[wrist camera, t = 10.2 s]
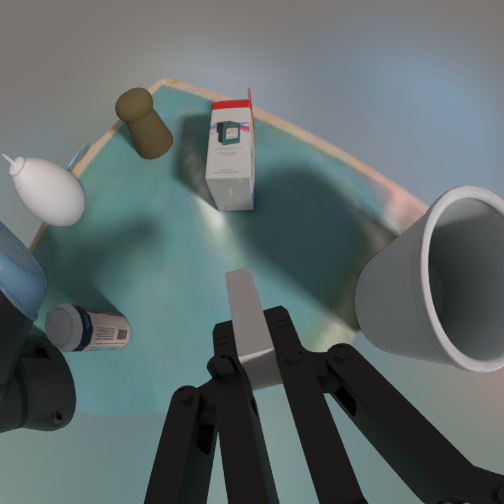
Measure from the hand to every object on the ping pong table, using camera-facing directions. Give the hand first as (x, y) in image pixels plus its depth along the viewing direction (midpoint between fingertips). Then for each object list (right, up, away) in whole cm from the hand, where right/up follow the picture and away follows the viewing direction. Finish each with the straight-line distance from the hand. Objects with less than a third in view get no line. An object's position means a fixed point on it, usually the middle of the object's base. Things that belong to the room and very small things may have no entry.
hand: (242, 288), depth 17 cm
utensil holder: (+19, -4, +15) cm, 25 cm away
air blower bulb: (-27, +8, +21) cm, 35 cm away
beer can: (-17, -8, +15) cm, 24 cm away
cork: (-15, +19, +23) cm, 33 cm away
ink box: (-2, +8, +15) cm, 17 cm away
